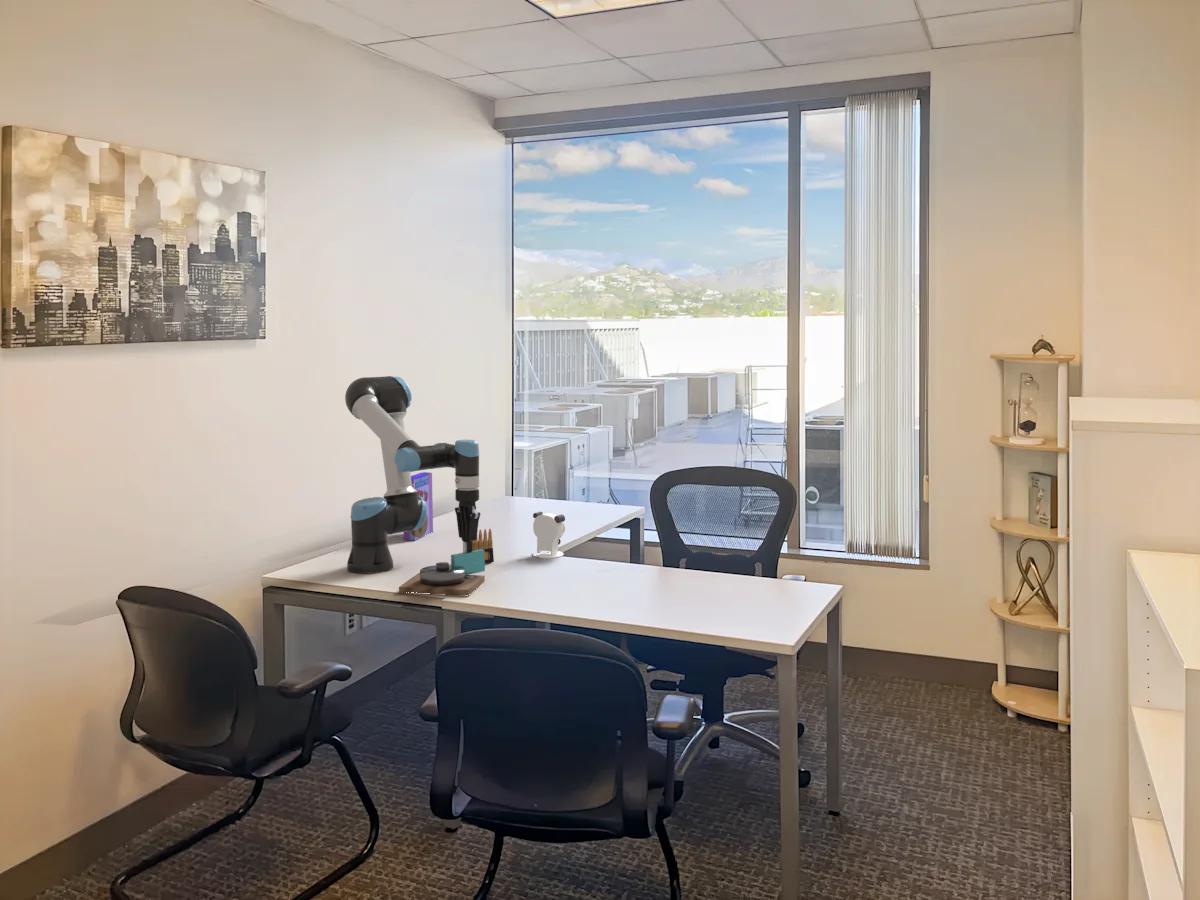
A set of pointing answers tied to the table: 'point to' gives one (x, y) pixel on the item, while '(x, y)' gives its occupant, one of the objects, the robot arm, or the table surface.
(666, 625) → the table surface
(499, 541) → the table surface
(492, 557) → the ammunition clip
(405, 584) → the stand
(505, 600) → the table surface
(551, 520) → the panda figurine
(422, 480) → the cereal box
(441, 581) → the dial
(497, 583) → the table surface
